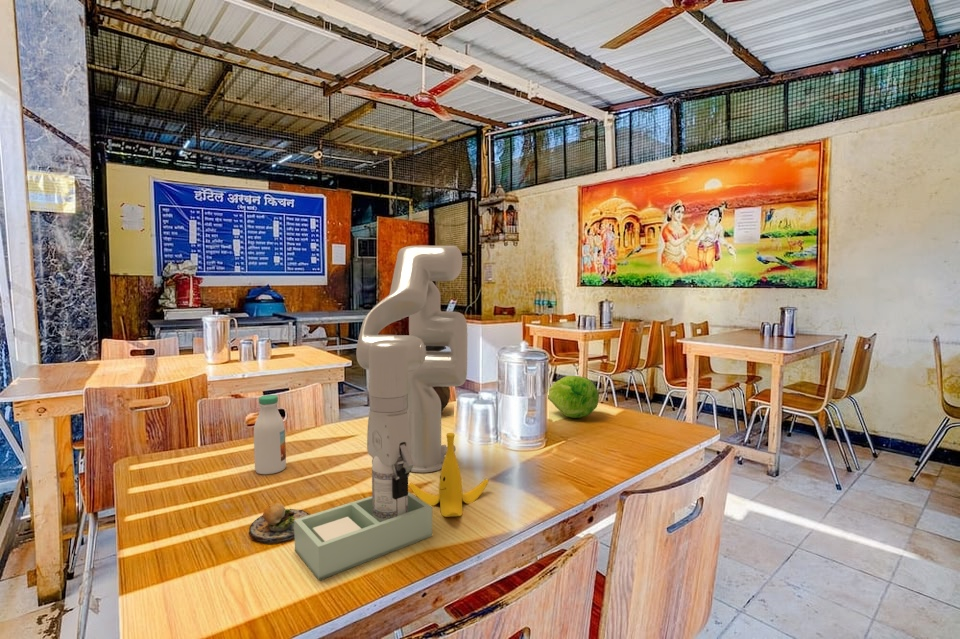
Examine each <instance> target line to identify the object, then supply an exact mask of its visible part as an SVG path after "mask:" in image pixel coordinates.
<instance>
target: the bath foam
mask: <svg viewBox="0 0 960 639" xmlns="http://www.w3.org/2000/svg"><path fill="white" fill-rule="evenodd" d="M372 459H373V458H372ZM399 461H402V459H401V458H398V459H397V462H399ZM397 468H398V471H399V470H400V469H401V468H403V467H402V464H401V465H397ZM393 478H394V474H393V470H392V466H390V467H389V466H386V465H384V464H383V463H381V461H380V459H379V458H378V457H377V456H375V457H374V459H373V463H372V462H371V489H372V490H371V492H372V493H371V494H372V495H371V496H372V507H373V517H374V518H375V519H376V520H377V521H379V522H382V521H385V520H388V519H391V518H394V517H397V516H400V515H402V514H405V513H408V495H407V496H404V497H401V498H398V499H393V497H392V479H393Z"/></svg>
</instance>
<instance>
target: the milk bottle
mask: <svg viewBox="0 0 960 639" xmlns="http://www.w3.org/2000/svg"><path fill="white" fill-rule="evenodd" d="M258 404H259V411H258V415H257V417H256V419H255V423H254V427H253V452H254V453H253V454H254V469H255V472H256V474H260V475H272V474H277V473H280V472H282V471H284V470H285V469H286V467H287V455H286V454H287V450H286V449H287V448H286V431H285V430H286V429H285V428H286V427H285V426H286V425H285V422H284V419H283V417H282V415H281V414H280V411H279V409H278V404H279V398H278V395H275V394H267V395H261V396H259V398H258Z"/></svg>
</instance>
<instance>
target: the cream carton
mask: <svg viewBox="0 0 960 639" xmlns="http://www.w3.org/2000/svg"><path fill="white" fill-rule="evenodd" d="M359 529H361V528H360V527H359V526H358V525H357V524H356V523H354V522H353V521H352V520H351V519H350V518H349V517H345V518H342V519H339V520H336V521H333V522H329V523H326V524H323V525H320V526H317V527H314V528H312V532H313V533H314V534H315V535H316V537H317V538H318V539H319V540H320V541H321V542H325V541H327V540H330V539H333V538H336V537H339V536H342V535H345V534H348V533H350V532H353V531H356V530H359Z"/></svg>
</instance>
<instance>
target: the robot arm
mask: <svg viewBox="0 0 960 639" xmlns="http://www.w3.org/2000/svg"><path fill="white" fill-rule="evenodd" d="M396 256H397V257H396V262H395V265H394V270H393V276H392V281H391V286H390V292H389V294H388V295H387V296H386V297H384V298H383V299H382V300H380V301H379V302H378V303H377V304H375V306H373V307H372V309H371V310H370V311H369V312H368V313H367V314H366V315H365V317H364V318H363V322H362V324H361V327H360V330H359V335H358V340H357V344H356V354H355V355H356V361H357V363H358V365H359V367H361V368H362V369H363V370H367V371H368V372H369V373H368V378H369V382H368V383H369V384H368V385H369V412H368V420H367V432H366V437H367V438H366V447H367V448H366V451H367V454H368V456H370V457H371V458H372V459H371V464H372V463H373V459H374V457H375V456H377V457H378V458H379V459H380V461H381V463H383V464H384V465H386V466H389V467H390V466H392V470H393V474H394V478H393V479H392V497H393V499H398V498H401V497H404V496H407V495H408V492H409V477H410V473H411V472H412V473H423V474H424V473H433V472H435V471H436V472H437V471H441V470H442V466H443V462H444V459H445V456H446V453H447V444H442V415H441V400H440V398H439V396H438V394H437V393H436V392H435V390H434V389H433V388H432V387H435V386H448V387H449V388H450V387H460V386H463V385H464V384H465V383H466V380H467V375H468V324H467V319H466V317H465V316H464V314H463V313H461V312H459V311H442V310H441V292H440V290H439V288H438V287H437V286H436V284H435V283H434V282H452V281H455V279H457V278H458V277H459V276H460V275H461V272H462V270H463V269H462V268H463V255H462V251H461V250H460V248H459V247H458V246H457V245H428V244H427V245H425V244H424V245H421V244H420V245H409V246H405V247H402V248H400V249H399V250H398V251H397V255H396ZM407 317H408V332H409V333H408V334H409V335H407V334H406V335H405V334H403V335H402V334H401V335H400V334H398V335H397V334H379V333H381V331H382V330H383V329H384V328H386V327H387V326H389V325H390V324H392V323H394V322H398V321H400V320H403V319H405V318H407ZM425 346H445V347H448V348H449V349H450V351H446V350H441V351H426V347H425ZM456 448H457V447H456V446H455V445H454V453H455V452H456ZM398 458H401V459H402V461H399V462H397V459H398ZM401 464H402V467H403V468H401V469H400V470H399V471H398V468H397V465H401Z"/></svg>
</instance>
